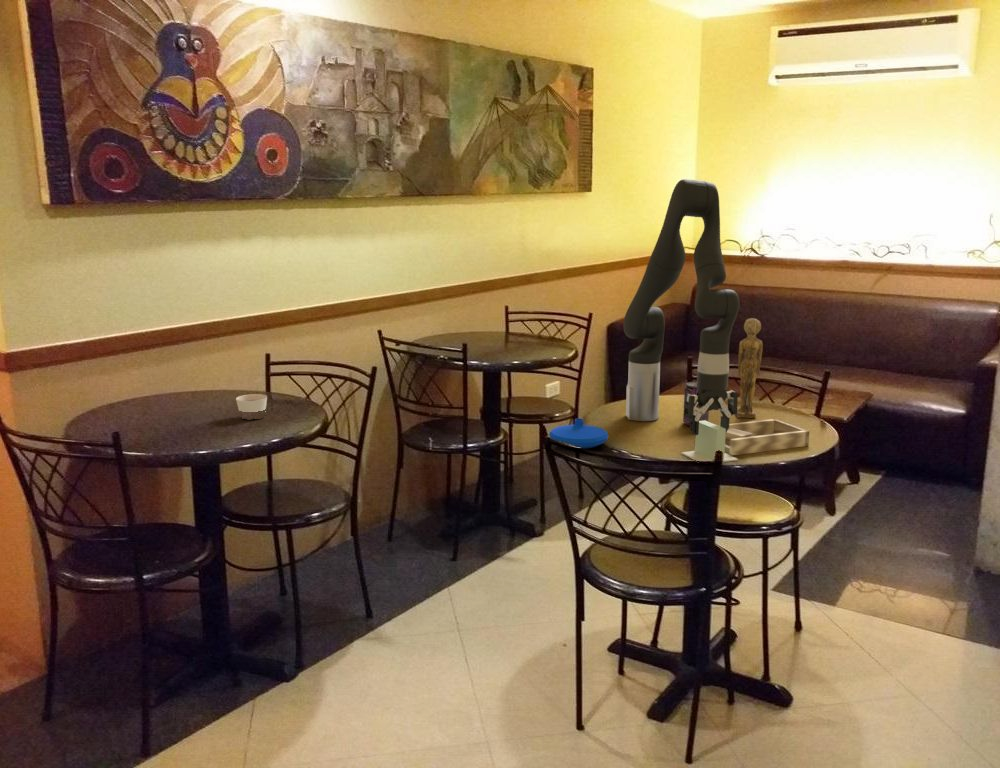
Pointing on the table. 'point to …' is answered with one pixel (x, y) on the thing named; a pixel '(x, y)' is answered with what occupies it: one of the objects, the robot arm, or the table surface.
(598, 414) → the table surface
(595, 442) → the blue rounded knobbed disc
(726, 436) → the offcut upper
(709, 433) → the block
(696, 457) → the mat
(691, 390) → the beverage can
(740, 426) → the tray
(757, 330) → the sculpture
